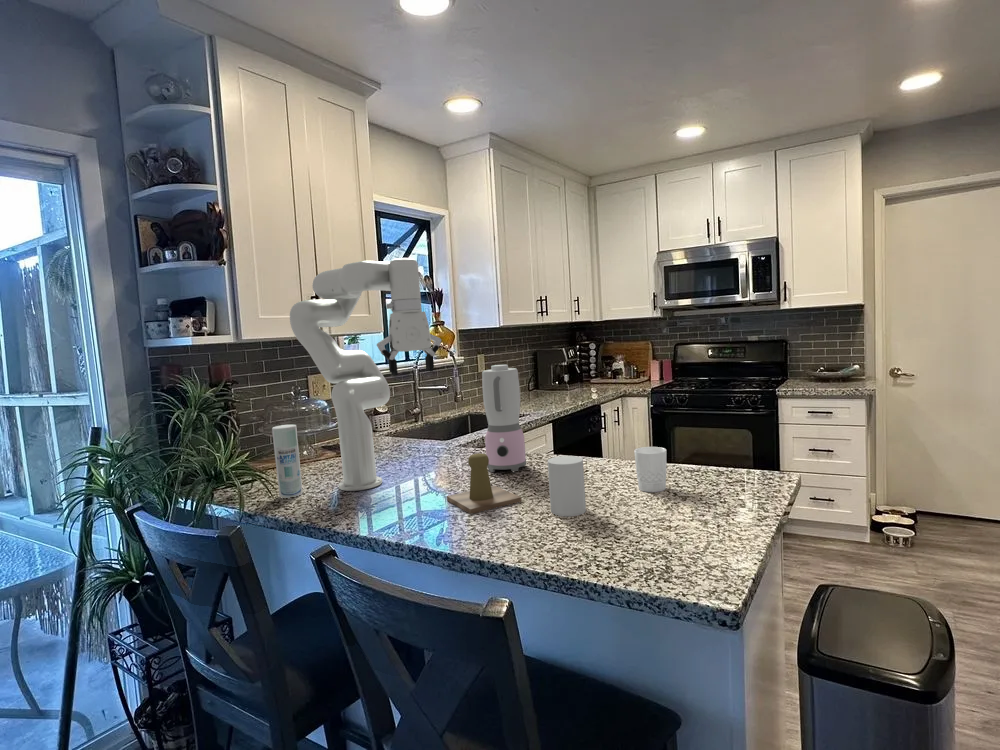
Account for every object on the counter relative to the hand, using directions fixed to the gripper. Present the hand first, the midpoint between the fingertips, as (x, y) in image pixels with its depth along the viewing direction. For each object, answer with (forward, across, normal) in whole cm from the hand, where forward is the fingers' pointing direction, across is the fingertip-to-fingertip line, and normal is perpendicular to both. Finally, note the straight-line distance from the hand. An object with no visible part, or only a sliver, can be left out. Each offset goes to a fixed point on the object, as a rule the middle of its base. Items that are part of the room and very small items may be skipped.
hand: (412, 373), depth 150 cm
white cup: (+34, +49, -34) cm, 68 cm away
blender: (+34, +31, +10) cm, 47 cm away
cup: (+34, +23, -34) cm, 53 cm away
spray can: (+34, -29, +29) cm, 53 cm away
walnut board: (+33, +11, -14) cm, 38 cm away
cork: (+32, +10, -14) cm, 37 cm away
